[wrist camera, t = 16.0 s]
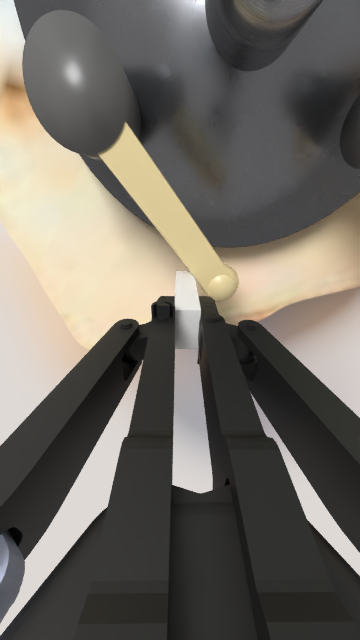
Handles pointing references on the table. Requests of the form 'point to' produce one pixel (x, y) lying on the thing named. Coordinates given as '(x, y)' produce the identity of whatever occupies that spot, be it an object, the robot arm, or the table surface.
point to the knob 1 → (111, 131)
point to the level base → (235, 105)
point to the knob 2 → (351, 136)
